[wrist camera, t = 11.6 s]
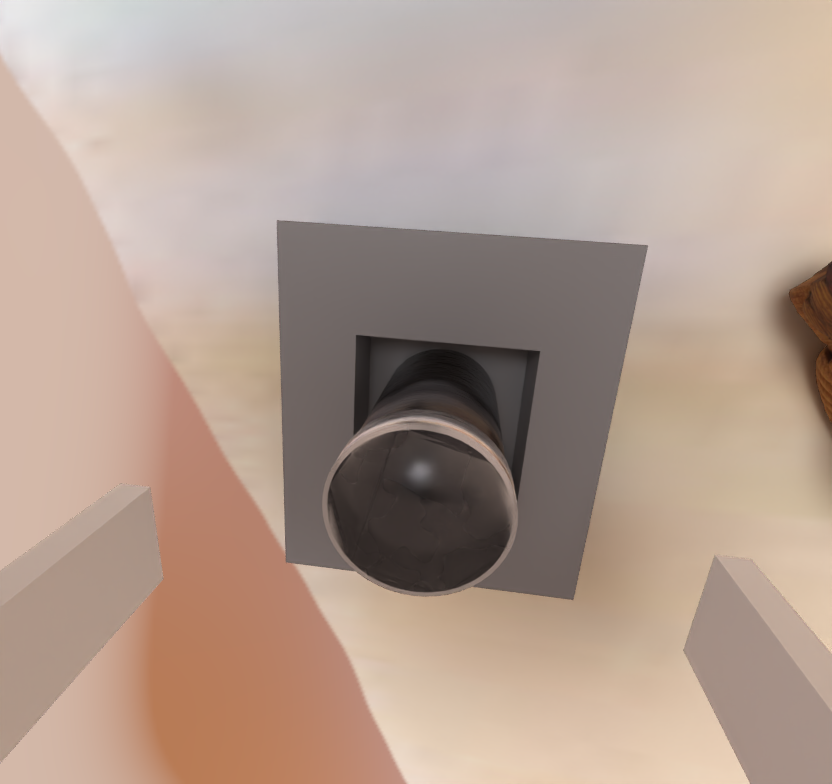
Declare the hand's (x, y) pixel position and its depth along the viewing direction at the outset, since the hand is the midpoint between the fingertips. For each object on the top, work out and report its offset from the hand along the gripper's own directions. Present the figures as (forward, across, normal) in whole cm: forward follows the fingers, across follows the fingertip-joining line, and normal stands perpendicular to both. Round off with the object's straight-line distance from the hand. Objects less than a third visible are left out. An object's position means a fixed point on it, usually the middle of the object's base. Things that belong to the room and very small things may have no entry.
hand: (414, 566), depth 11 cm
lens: (+13, 0, -1) cm, 13 cm away
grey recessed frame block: (+14, 0, -1) cm, 14 cm away
